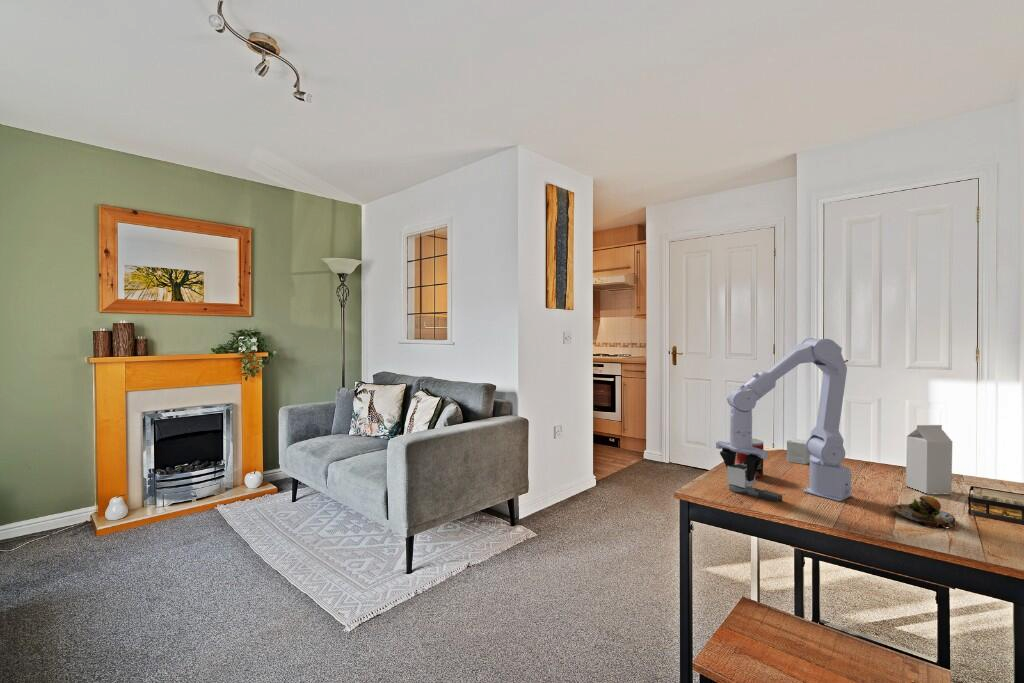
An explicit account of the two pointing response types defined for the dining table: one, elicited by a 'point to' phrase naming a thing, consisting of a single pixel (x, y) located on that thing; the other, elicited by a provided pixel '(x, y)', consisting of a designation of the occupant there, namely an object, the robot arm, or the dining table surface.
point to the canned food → (741, 456)
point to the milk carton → (929, 460)
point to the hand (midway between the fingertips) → (740, 477)
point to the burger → (926, 512)
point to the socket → (738, 475)
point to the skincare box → (797, 451)
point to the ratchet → (757, 493)
